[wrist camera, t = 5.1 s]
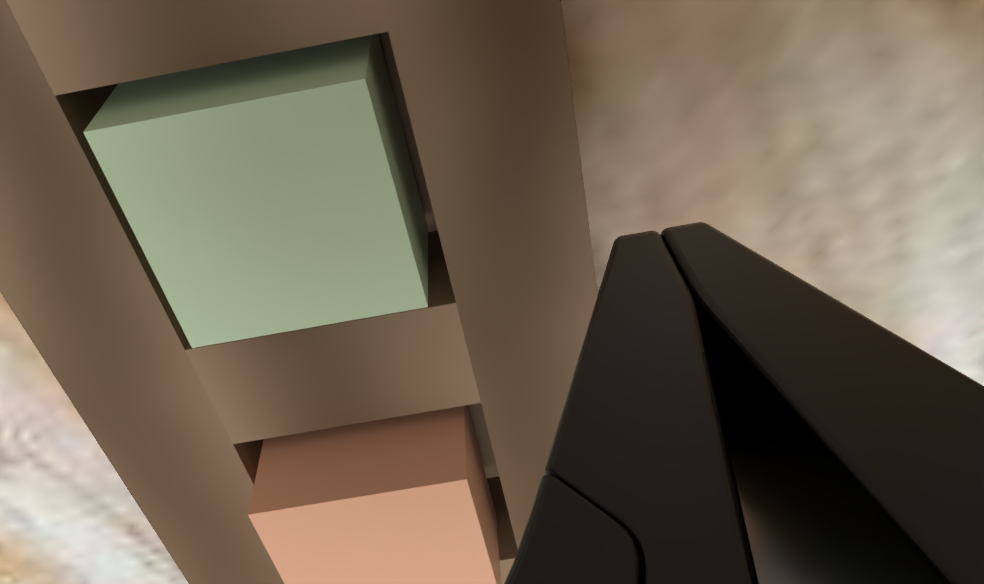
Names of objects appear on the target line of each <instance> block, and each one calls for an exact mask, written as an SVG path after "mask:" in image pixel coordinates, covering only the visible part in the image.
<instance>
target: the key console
mask: <svg viewBox="0 0 984 584" xmlns="http://www.w3.org/2000/svg"><path fill="white" fill-rule="evenodd" d="M373 34H378V36H379V40H380V44H381V48H382V52H383V56H384V60H385V63H386V67H387V71H388V75H389V79H390V83H391V87H392V91H393V94H394V98H395V102H396V106H397V110H398V114H399V118H400V122H401V125H402V129H403V133H404V137H405V141H406V145H407V149H408V153H409V156H410V160H411V164H412V168H413V172H414V176H415V180H416V184H417V188H418V191H419V195H420V199H421V203H422V207H423V211H424V215H425V219H426V222H427V226H428V307H426V308H420V309H414V310H408V311H403V312H397V313H391V314H385V315H380V316H374V317H368V318H362V319H357V320H351V321H345V322H339V323H334V324H328V325H322V326H316V327H311V328H305V329H299V330H294V331H288V332H282V333H276V334H271V335H265V336H259V337H253V338H248V339H242V340H236V341H230V342H225V343H219V344H213V345H207V346H202V347H196V348H192V347H191V345H190V343H189V341H188V339H187V337H186V335H185V333H184V331H183V329H182V327H181V325H180V323H179V321H178V319H177V318H176V316H175V314H174V312H173V310H172V308H171V306H170V304H169V302H168V300H167V298H166V296H165V294H164V292H163V290H162V288H161V286H160V284H159V282H158V280H157V278H156V276H155V274H154V272H153V270H152V268H151V266H150V264H149V262H148V260H147V258H146V256H145V254H144V252H143V250H142V248H141V246H140V244H139V242H138V240H137V238H136V236H135V234H134V232H133V230H132V228H131V226H130V224H129V222H128V220H127V218H126V216H125V214H124V212H123V210H122V208H121V206H120V204H119V202H118V200H117V198H116V196H115V194H114V192H113V190H112V188H111V186H110V184H109V183H108V181H107V179H106V177H105V175H104V173H103V171H102V169H101V167H100V165H99V163H98V161H97V159H96V157H95V155H94V153H93V151H92V149H91V147H90V145H89V143H88V141H87V139H86V137H85V135H84V133H83V132H84V130H85V129H86V128H87V126H88V125H89V123H90V122H91V121H92V119H93V118H94V116H95V115H96V114H97V112H98V111H99V110H100V108H101V107H102V105H103V104H104V103H105V101H106V100H107V98H108V97H109V96H110V94H111V93H112V92H113V90H114V89H115V87H116V86H117V85H118V83H123V82H128V81H134V80H139V79H144V78H149V77H154V76H160V75H165V74H170V73H175V72H180V71H185V70H191V69H196V68H201V67H206V66H211V65H217V64H222V63H227V62H232V61H237V60H243V59H248V58H253V57H258V56H263V55H269V54H274V53H279V52H284V51H289V50H295V49H300V48H305V47H310V46H315V45H321V44H326V43H331V42H336V41H341V40H347V39H352V38H357V37H362V36H367V35H373ZM0 292H1V294H2V295H3V297H4V298H5V300H6V301H7V303H8V304H9V306H10V308H11V309H12V311H13V312H14V314H15V315H16V317H17V318H18V320H19V321H20V323H21V325H22V326H23V328H24V329H25V331H26V332H27V334H28V335H29V337H30V338H31V340H32V342H33V343H34V345H35V346H36V348H37V349H38V351H39V352H40V354H41V356H42V357H43V359H44V360H45V362H46V363H47V365H48V366H49V368H50V369H51V371H52V373H53V374H54V376H55V377H56V379H57V380H58V382H59V383H60V385H61V386H62V388H63V390H64V391H65V393H66V394H67V396H68V397H69V399H70V400H71V402H72V403H73V405H74V407H75V408H76V410H77V411H78V413H79V414H80V416H81V417H82V419H83V420H84V422H85V424H86V425H87V427H88V428H89V430H90V431H91V433H92V434H93V436H94V437H95V439H96V441H97V442H98V444H99V445H100V447H101V448H102V450H103V451H104V453H105V454H106V456H107V458H108V459H109V461H110V462H111V464H112V465H113V467H114V468H115V470H116V472H117V473H118V475H119V476H120V478H121V479H122V481H123V482H124V484H125V485H126V487H127V489H128V490H129V492H130V493H131V495H132V496H133V498H134V499H135V501H136V502H137V504H138V506H139V507H140V509H141V510H142V512H143V513H144V515H145V516H146V518H147V519H148V521H149V523H150V524H151V526H152V527H153V529H154V530H155V532H156V533H157V535H158V536H159V538H160V540H161V541H162V543H163V544H164V546H165V547H166V549H167V550H168V552H169V553H170V555H171V557H172V558H173V560H174V561H175V563H176V564H177V566H178V567H179V569H180V570H181V572H182V574H183V575H184V577H185V578H186V580H187V581H188V583H189V584H284V582H283V580H282V578H281V576H280V574H279V572H278V570H277V569H276V567H275V565H274V563H273V561H272V559H271V557H270V556H269V554H268V552H267V550H266V548H265V546H264V544H263V542H262V541H261V539H260V537H259V535H258V533H257V531H256V529H255V527H254V526H253V524H252V522H251V520H250V518H249V516H248V511H249V507H250V502H251V497H252V492H253V488H254V483H255V478H256V473H257V468H258V464H259V459H260V454H261V449H262V445H263V440H264V439H267V438H273V437H279V436H285V435H291V434H297V433H303V432H309V431H315V430H321V429H327V428H333V427H339V426H345V425H351V424H357V423H363V422H369V421H375V420H381V419H387V418H393V417H399V416H405V415H411V414H417V413H423V412H429V411H435V410H441V409H447V408H453V407H459V406H465V405H467V406H468V410H469V413H470V417H471V421H472V425H473V429H474V432H475V436H476V440H477V444H478V447H479V451H480V455H481V459H482V463H483V466H484V470H485V474H486V478H487V482H488V485H489V489H490V493H491V497H492V501H493V504H494V508H495V512H496V520H497V532H498V545H499V558H500V571H501V583H502V584H504V583H505V581H506V578H507V576H508V574H509V571H510V569H511V567H512V565H513V562H514V559H515V556H516V553H517V551H518V548H519V545H520V542H521V539H522V536H523V534H524V531H525V528H526V525H527V522H528V519H529V517H530V514H531V511H532V508H533V504H534V501H535V498H536V494H537V491H538V488H539V485H540V481H541V478H542V477H543V476H544V475H545V467H546V463H547V460H548V457H549V454H550V450H551V447H552V444H553V440H554V437H555V434H556V431H557V427H558V424H559V421H560V417H561V414H562V411H563V408H564V404H565V401H566V398H567V394H568V391H569V388H570V385H571V381H572V378H573V375H574V372H575V368H576V365H577V362H578V358H579V355H580V352H581V349H582V345H583V342H584V339H585V335H586V332H587V329H588V326H589V322H590V319H591V316H592V312H593V309H594V306H595V303H596V299H597V289H596V281H595V273H594V265H593V257H592V249H591V241H590V233H589V225H588V217H587V209H586V201H585V193H584V185H583V177H582V169H581V161H580V153H579V145H578V137H577V128H576V120H575V112H574V104H573V96H572V88H571V80H570V72H569V64H568V56H567V48H566V40H565V32H564V24H563V16H562V8H561V0H0Z"/></svg>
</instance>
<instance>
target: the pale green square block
mask: <svg viewBox="0 0 984 584" xmlns="http://www.w3.org/2000/svg"><path fill="white" fill-rule="evenodd" d="M83 133H84V135H85V137H86V139H87V141H88V143H89V145H90V147H91V149H92V151H93V153H94V155H95V157H96V159H97V161H98V163H99V165H100V167H101V169H102V171H103V173H104V175H105V177H106V179H107V181H108V183H109V184H110V186H111V188H112V190H113V192H114V194H115V196H116V198H117V200H118V202H119V204H120V206H121V208H122V210H123V212H124V214H125V216H126V218H127V220H128V222H129V224H130V226H131V228H132V230H133V232H134V234H135V236H136V238H137V240H138V242H139V244H140V246H141V248H142V250H143V252H144V254H145V256H146V258H147V260H148V262H149V264H150V266H151V268H152V270H153V272H154V274H155V276H156V278H157V280H158V282H159V284H160V286H161V288H162V290H163V292H164V294H165V296H166V298H167V300H168V302H169V304H170V306H171V308H172V310H173V312H174V314H175V316H176V318H177V319H178V321H179V323H180V325H181V327H182V329H183V331H184V333H185V335H186V337H187V339H188V341H189V343H190V345H191V347H192V348H196V347H202V346H207V345H213V344H219V343H225V342H230V341H236V340H242V339H248V338H253V337H259V336H265V335H271V334H276V333H282V332H288V331H294V330H299V329H305V328H311V327H316V326H322V325H328V324H334V323H339V322H345V321H351V320H357V319H362V318H368V317H374V316H380V315H385V314H391V313H397V312H403V311H408V310H414V309H420V308H426V307H428V226H427V222H426V219H425V215H424V211H423V207H422V203H421V199H420V195H419V191H418V188H417V184H416V180H415V176H414V172H413V168H412V164H411V160H410V156H409V153H408V149H407V145H406V141H405V137H404V133H403V129H402V125H401V122H400V118H399V114H398V110H397V106H396V102H395V98H394V94H393V91H392V87H391V83H390V79H389V75H388V71H387V67H386V63H385V60H384V56H383V52H382V48H381V44H380V40H379V36H378V34H373V35H367V36H362V37H357V38H352V39H347V40H341V41H336V42H331V43H326V44H321V45H315V46H310V47H305V48H300V49H295V50H289V51H284V52H279V53H274V54H269V55H263V56H258V57H253V58H248V59H243V60H237V61H232V62H227V63H222V64H217V65H211V66H206V67H201V68H196V69H191V70H185V71H180V72H175V73H170V74H165V75H160V76H154V77H149V78H144V79H139V80H134V81H128V82H123V83H118V85H117V86H116V87H115V89H114V90H113V92H112V93H111V94H110V96H109V97H108V98H107V100H106V101H105V103H104V104H103V105H102V107H101V108H100V110H99V111H98V112H97V114H96V115H95V116H94V118H93V119H92V121H91V122H90V123H89V125H88V126H87V128H86V129H85V130H84V132H83Z"/></svg>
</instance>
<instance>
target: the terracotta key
mask: <svg viewBox="0 0 984 584" xmlns="http://www.w3.org/2000/svg"><path fill="white" fill-rule="evenodd" d="M248 516H249V518H250V520H251V522H252V524H253V526H254V527H255V529H256V531H257V533H258V535H259V537H260V539H261V541H262V542H263V544H264V546H265V548H266V550H267V552H268V554H269V556H270V557H271V559H272V561H273V563H274V565H275V567H276V569H277V570H278V572H279V574H280V576H281V578H282V580H283V582H284V584H502V583H501V571H500V558H499V545H498V532H497V520H496V512H495V508H494V504H493V501H492V497H491V493H490V489H489V485H488V482H487V478H486V474H485V470H484V466H483V463H482V459H481V455H480V451H479V447H478V444H477V440H476V436H475V432H474V429H473V425H472V421H471V417H470V413H469V410H468V406H467V405H465V406H459V407H453V408H447V409H441V410H435V411H429V412H423V413H417V414H411V415H405V416H399V417H393V418H387V419H381V420H375V421H369V422H363V423H357V424H351V425H345V426H339V427H333V428H327V429H321V430H315V431H309V432H303V433H297V434H291V435H285V436H279V437H273V438H267V439H264V440H263V445H262V449H261V454H260V459H259V464H258V468H257V473H256V478H255V483H254V488H253V492H252V497H251V502H250V507H249V511H248Z"/></svg>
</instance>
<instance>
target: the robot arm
mask: <svg viewBox="0 0 984 584" xmlns="http://www.w3.org/2000/svg"><path fill="white" fill-rule="evenodd" d="M504 584H984V386H983V385H981V384H979V383H978V382H976V381H974V380H973V379H971V378H969V377H967V376H966V375H964V374H962V373H961V372H959V371H957V370H955V369H954V368H952V367H950V366H949V365H947V364H945V363H944V362H942V361H940V360H938V359H937V358H935V357H933V356H932V355H930V354H928V353H926V352H925V351H923V350H921V349H920V348H918V347H916V346H915V345H913V344H911V343H909V342H908V341H906V340H904V339H903V338H901V337H899V336H898V335H896V334H894V333H892V332H891V331H889V330H887V329H886V328H884V327H882V326H880V325H879V324H877V323H875V322H874V321H872V320H870V319H869V318H867V317H865V316H863V315H862V314H860V313H858V312H857V311H855V310H853V309H852V308H850V307H848V306H846V305H845V304H843V303H841V302H840V301H838V300H836V299H834V298H833V297H831V296H829V295H828V294H826V293H824V292H823V291H821V290H819V289H817V288H816V287H814V286H812V285H811V284H809V283H807V282H805V281H804V280H802V279H800V278H799V277H797V276H795V275H794V274H792V273H790V272H788V271H787V270H785V269H783V268H782V267H780V266H778V265H777V264H775V263H773V262H771V261H770V260H768V259H766V258H765V257H763V256H761V255H759V254H758V253H756V252H754V251H753V250H751V249H749V248H748V247H746V246H744V245H742V244H741V243H739V242H737V241H736V240H734V239H732V238H730V237H729V236H727V235H725V234H724V233H722V232H720V231H719V230H717V229H715V228H713V227H712V226H710V225H708V224H706V223H702V222H698V223H692V224H687V225H681V226H676V227H670V228H666V229H664V230H663V231H662V233H661V235H660V234H659V233H658V232H656V231H648V232H642V233H636V234H630V235H625V236H620V237H618V238H617V239H616V240H615V241H614V244H613V247H612V250H611V253H610V257H609V260H608V263H607V266H606V270H605V273H604V276H603V280H602V283H601V286H600V289H599V293H598V296H597V299H596V303H595V306H594V309H593V312H592V316H591V319H590V322H589V326H588V329H587V332H586V335H585V339H584V342H583V345H582V349H581V352H580V355H579V358H578V362H577V365H576V368H575V372H574V375H573V378H572V381H571V385H570V388H569V391H568V394H567V398H566V401H565V404H564V408H563V411H562V414H561V417H560V421H559V424H558V427H557V431H556V434H555V437H554V440H553V444H552V447H551V450H550V454H549V457H548V460H547V463H546V467H545V475H544V476H543V477H542V478H541V481H540V485H539V488H538V491H537V494H536V498H535V501H534V504H533V508H532V511H531V514H530V517H529V519H528V522H527V525H526V528H525V531H524V534H523V536H522V539H521V542H520V545H519V548H518V551H517V553H516V556H515V559H514V562H513V565H512V567H511V569H510V571H509V574H508V576H507V578H506V581H505V583H504Z"/></svg>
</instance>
